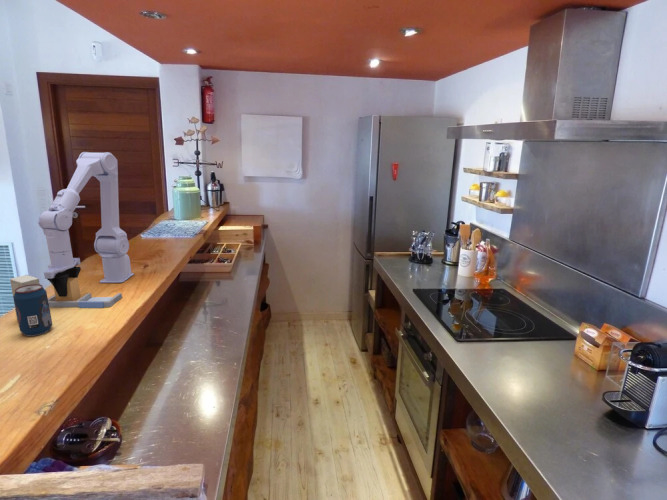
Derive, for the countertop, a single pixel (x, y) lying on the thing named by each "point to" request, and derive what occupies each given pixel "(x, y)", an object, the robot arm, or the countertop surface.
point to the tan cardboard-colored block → (70, 291)
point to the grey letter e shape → (86, 301)
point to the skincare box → (22, 282)
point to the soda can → (32, 309)
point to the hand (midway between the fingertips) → (67, 293)
